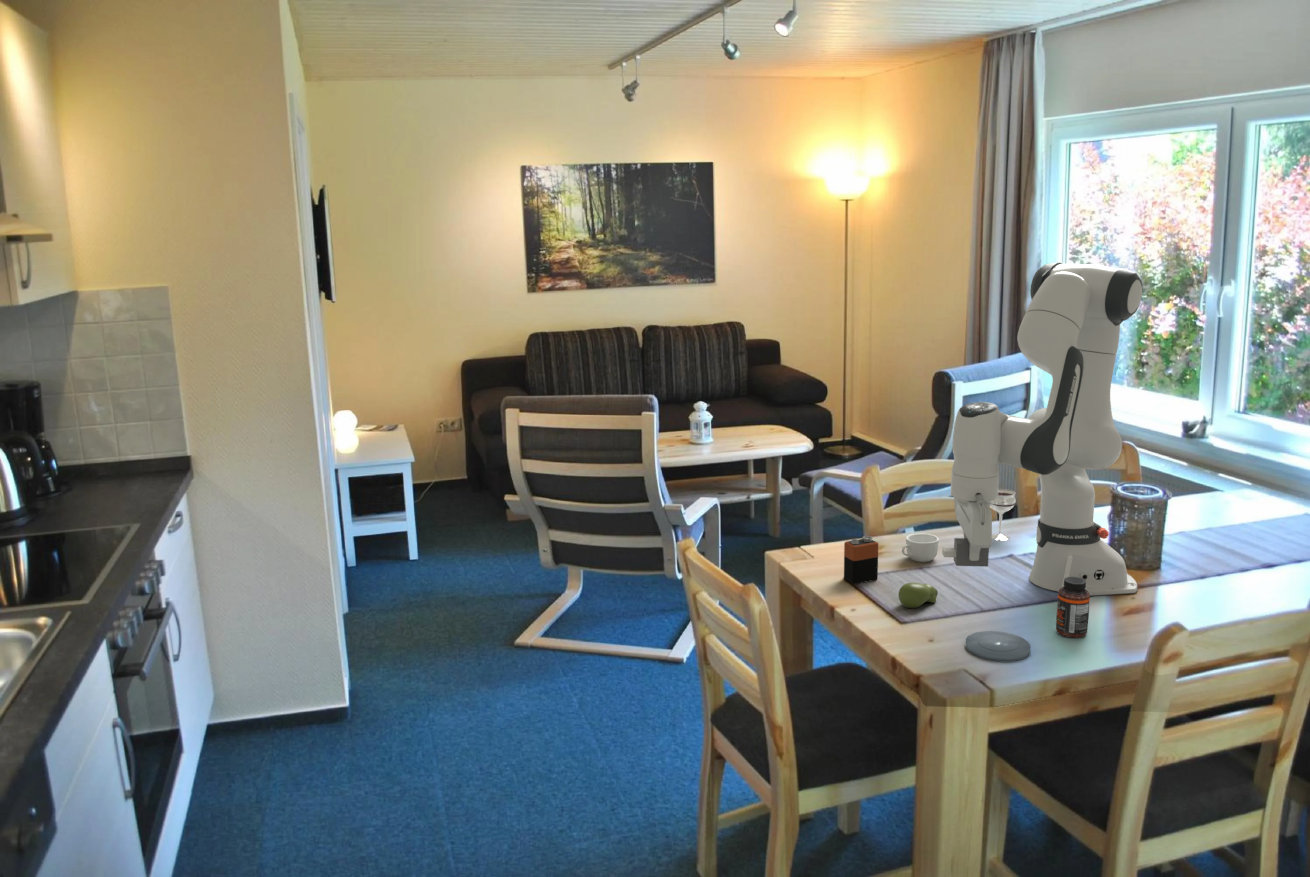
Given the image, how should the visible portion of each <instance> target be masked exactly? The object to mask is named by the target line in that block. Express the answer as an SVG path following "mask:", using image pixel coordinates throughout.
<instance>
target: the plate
mask: <svg viewBox="0 0 1310 877" xmlns="http://www.w3.org/2000/svg"><path fill="white" fill-rule="evenodd" d="M1031 646H1032V645H1031V644H1030V642H1029V641H1028V640H1026V639H1025V638H1024V637H1021V636H1020V635H1017V634H1014V633H1011V632H1005V631H997V630H982V631H976V632H973V633H971V634H969V635H967V637H966V638H965V648H966V650H967V651H968V652H969V653H970V654H972V655H974V656H976V657H978V658H980V659H985V660H989V661H994V662H1017V661H1021V660H1024V659H1027V658H1028V657H1029V656H1031V655H1030V654H1031V649H1032V648H1031Z"/></svg>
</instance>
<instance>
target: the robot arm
mask: <svg viewBox="0 0 1310 877" xmlns="http://www.w3.org/2000/svg"><path fill="white" fill-rule="evenodd" d="M1142 297H1143V282H1142V279H1141V277H1140V276H1139V275H1138V273H1136V272H1134V271H1132V270H1129V269H1126V268H1122V267H1120V268H1115V267H1110V266H1107V265H1106V266H1105V265H1100V264H1094V263H1093V264H1092V263H1088V264H1085V263H1084V264H1083V263H1081V264H1079V263H1062V262H1050V263H1046V264H1044V265H1042V266H1041V267H1040V268H1039V269H1037V270H1036V271H1035V273H1034V275H1033V276H1032V280H1031V284H1030V298H1031V301H1030V303H1029V304H1028V306H1027V308H1026V312H1024V313H1025V314H1024V316H1023V318H1022V321H1021V323H1020V325H1019V329H1018V332H1017V338H1016V340H1017V345H1018V348H1019V350H1020V352H1021V353H1022V355H1023V356H1024V357H1025V358H1026V359H1027V360H1028V361H1029V362H1030V363H1031V364H1033V365H1034V366H1035V367H1037V368H1039V369H1040V370H1042V371H1043V372H1046V373H1047V374H1049V375H1051V377H1052V383H1051V387H1050V388H1051V389H1050V392H1049V396H1048V401H1047V406H1046V407H1043V408H1039V409H1037V410H1035V411H1034V412H1033V413H1032V414H1030V415H1029V417H1028V418H1026V417H1025V418H1024V417H1019V416H1015V415H1009V414H1007V413H1004V412H1001V411H1000V409H999V406H998V405H996V403H992V402H988V401H977V402H970V403H966V404H964V405H963V406H961V407H959V409H958V411H957V414H956V416H955V421H954V427H953V434H952V435H953V436H952V446H951V447H952V448H951V449H952V453H953V464H952V467H951V476H950V495H951V497H953V499H954V500H953V501H954V512H955V518H956V519H957V522H958V523H959V525H960V527H961V530H962V532H963V538H967V539H968V541H969V543H970V548H969V555H968V556H969V559H970V560H971V561H978V560H979V552H980V549H981V548H989V549H990V548H991V546H992V540H993V539H992V535H993V534H992V533H993V515H992V514H993V513H992V508H991V507H990V505H991V500H995V499H997V498H998V490H999V489H1000V488H999V486H1000V469H999V464H1002V465H1005V466H1008V467H1009V466H1010V467H1012V468H1013V467H1014V468H1018V469H1024V470H1026V471H1029V472H1032V473H1035V474H1039V479H1040V480H1039V481H1040V490H1041V491H1040V512H1039V516H1040V517H1039V518H1038V519H1037V526H1036V536H1035V537H1036V540H1035V541H1036V544H1037V546H1036V553H1035V556H1034V561H1033V565H1032V567H1031V571H1030V573H1029V574H1028V575H1029V576H1028V580H1029V581H1030V582H1031V583H1032V584H1034V585H1035V586H1037V587H1040V588H1042V589H1045V590H1049V591H1053V592H1058V591H1059V589H1060V588H1062V587H1064V579H1065V578H1067V577H1079V578H1082V579H1084V580H1085V581H1086V587H1085V589H1086V590H1087V591H1088V592H1089V593H1090V597H1092V596H1104V595H1106V596H1107V595H1124V594H1135V593H1137V591H1138V583H1137V581H1136V580H1135V578H1133V576H1131V575H1130V574H1128V572H1127V566H1126V562H1125V559H1124V558H1123V556H1121V555H1120V554H1119V552H1117V551H1116V550H1115V549H1114V548H1113V547H1112V546H1110V545H1109V544H1107V543H1106V542H1105V541H1104V540H1105V539H1107V538H1108V537H1109V535H1110V533H1109V531H1108V530H1107V529H1106V528H1104V527H1102V526H1101V525H1100V524H1098V523H1096V522H1095V521H1094V513H1095V511H1094V510H1095V499H1096V493H1095V492H1096V491H1095V488H1094V484H1092V482H1091V480H1090V478H1089V476H1088V474H1087V469H1088V470H1105V469H1107V468H1109V467H1111V466H1112V465H1114V464H1115V463H1116V462H1117V460H1118V459H1119V457H1120V456H1121V453H1122V451H1123V450H1122V448H1123V440H1122V437H1121V435H1120V433H1119V431H1118V430H1117V428H1116V426H1115V422H1114V419H1113V418H1114V417H1113V414H1112V413H1113V411H1112V405H1111V388H1112V386H1111V385H1112V380H1113V374H1114V369H1115V363H1116V358H1117V353H1118V348H1119V340H1120V330H1121V324H1122V323H1123V322H1124V321H1127V320H1129V319H1130V318H1131V317H1132V316H1134V314H1135V313H1136V312H1137V311H1138V309H1139V306H1140V304H1141V301H1142ZM1102 539H1103V540H1102Z"/></svg>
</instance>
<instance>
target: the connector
mask: <svg viewBox="0 0 1310 877" xmlns="http://www.w3.org/2000/svg"><path fill="white" fill-rule="evenodd" d="M953 541H954V542H953V544H954V545H953V547H942V551H941V552H942V556H943V558H953V562H954V564H955V566H957V567H986V568H987V567H989V556H990V554H989V553H990V547H989V548H981V549H980V552H979V560H978V561H971V560H970V559H969V556H968V555H969V548H970V543H969V541H968V539H967V538H964V537H962V538H961V537H959V538H958V537H955V538H954V540H953Z"/></svg>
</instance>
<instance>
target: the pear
mask: <svg viewBox="0 0 1310 877" xmlns="http://www.w3.org/2000/svg"><path fill="white" fill-rule="evenodd" d="M938 594H939V593H938V590H937V588H936V587H934V586H933V585H931V584H929V583H922V582H921V583H920V582H907V583H904V584H903V585H902V586H901V587H900V589H899V590H898V600H899V602H900V604H902V606H904V607H905V608H909V609H915V608H916V609H917V608H918V607H920V606H922V605H924V603H926V602H928V603H932V604H934V603H937V598H938Z"/></svg>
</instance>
